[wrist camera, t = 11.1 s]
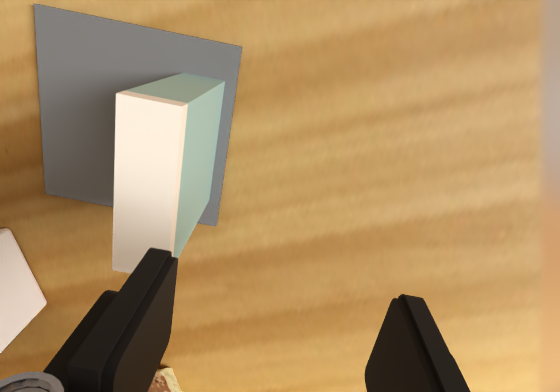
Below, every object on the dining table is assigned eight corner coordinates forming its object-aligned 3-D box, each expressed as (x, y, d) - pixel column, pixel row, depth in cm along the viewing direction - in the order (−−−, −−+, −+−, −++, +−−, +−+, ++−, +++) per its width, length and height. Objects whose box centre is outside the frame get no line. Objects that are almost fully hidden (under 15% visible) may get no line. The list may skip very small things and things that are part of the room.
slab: (225, 80, 23) (182, 106, 14) (209, 200, 26) (166, 279, 17) (184, 72, 22) (116, 93, 14) (173, 193, 26) (112, 269, 17)
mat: (242, 46, 22) (241, 47, 22) (217, 223, 27) (215, 226, 26) (38, 4, 22) (33, 3, 21) (48, 191, 26) (45, 193, 26)
